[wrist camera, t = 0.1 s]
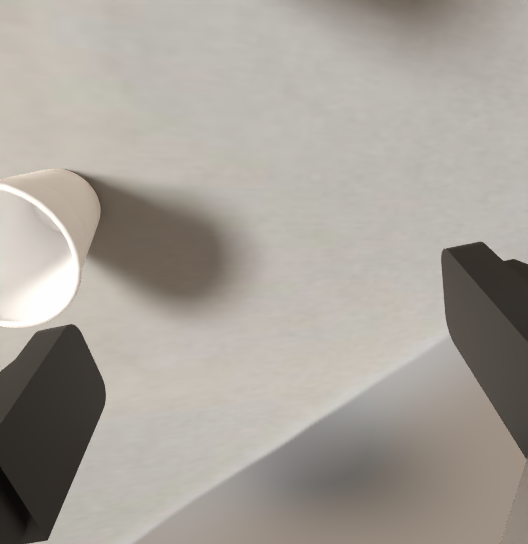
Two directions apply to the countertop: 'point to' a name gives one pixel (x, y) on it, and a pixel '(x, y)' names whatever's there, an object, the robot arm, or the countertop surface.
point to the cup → (43, 243)
